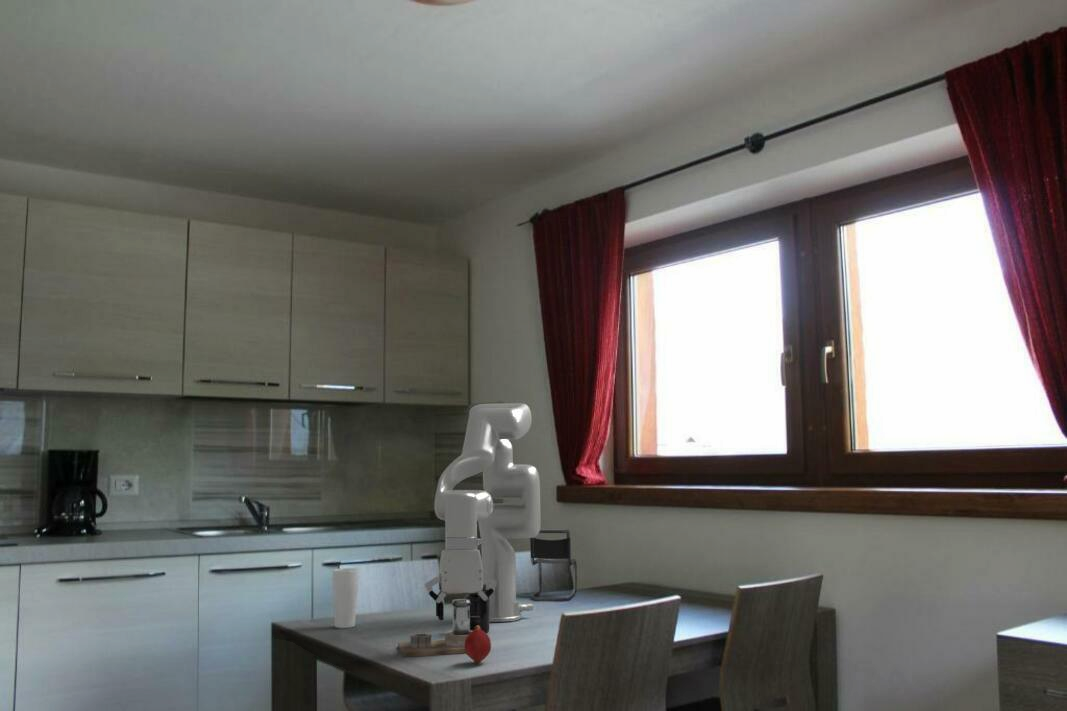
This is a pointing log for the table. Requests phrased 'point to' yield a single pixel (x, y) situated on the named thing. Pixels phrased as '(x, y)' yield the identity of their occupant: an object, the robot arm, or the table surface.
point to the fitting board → (433, 645)
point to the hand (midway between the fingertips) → (461, 618)
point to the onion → (477, 645)
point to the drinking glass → (345, 596)
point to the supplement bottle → (474, 617)
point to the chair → (552, 551)
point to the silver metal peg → (461, 616)
